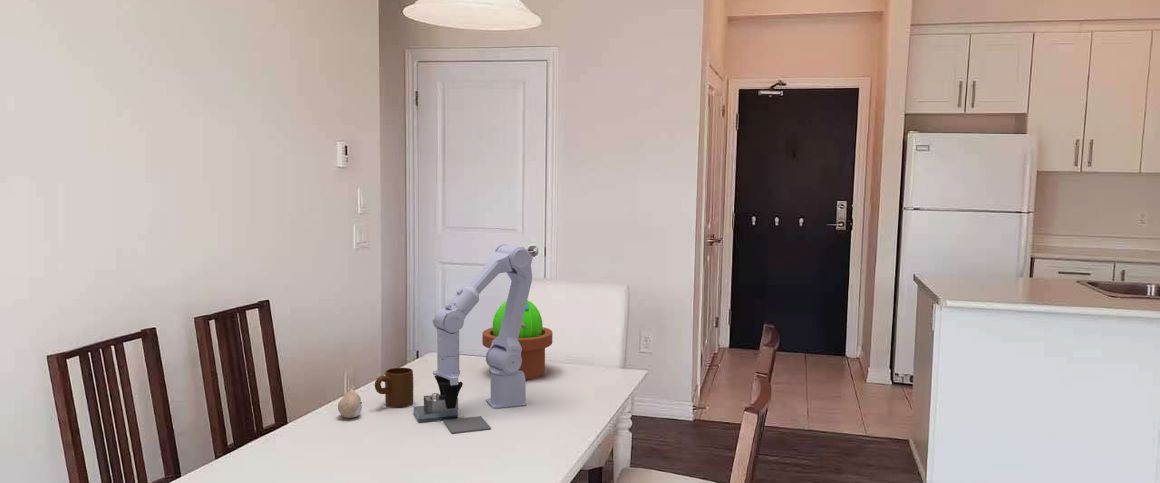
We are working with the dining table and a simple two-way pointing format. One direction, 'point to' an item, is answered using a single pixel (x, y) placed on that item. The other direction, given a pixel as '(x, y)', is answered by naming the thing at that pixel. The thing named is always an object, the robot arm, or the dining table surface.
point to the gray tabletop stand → (437, 404)
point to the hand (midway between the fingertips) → (448, 405)
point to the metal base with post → (433, 413)
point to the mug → (396, 387)
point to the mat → (466, 425)
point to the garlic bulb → (350, 404)
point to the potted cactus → (525, 339)
